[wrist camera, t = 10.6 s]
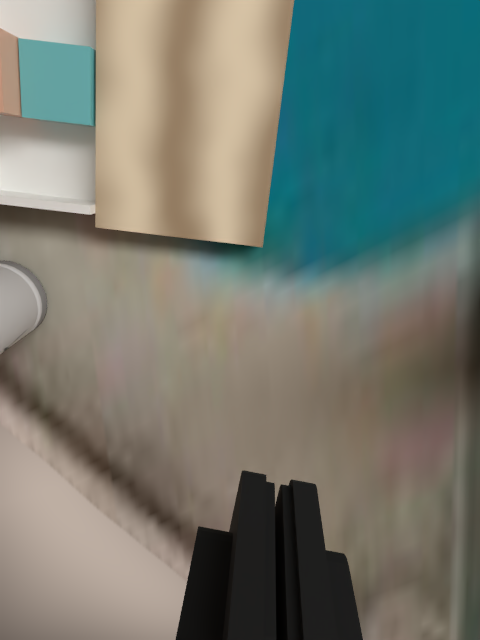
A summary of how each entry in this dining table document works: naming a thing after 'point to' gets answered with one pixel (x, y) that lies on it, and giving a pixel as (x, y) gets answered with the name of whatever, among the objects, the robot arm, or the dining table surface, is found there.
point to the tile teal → (58, 82)
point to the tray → (41, 136)
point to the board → (188, 115)
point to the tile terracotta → (9, 75)
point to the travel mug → (19, 303)
